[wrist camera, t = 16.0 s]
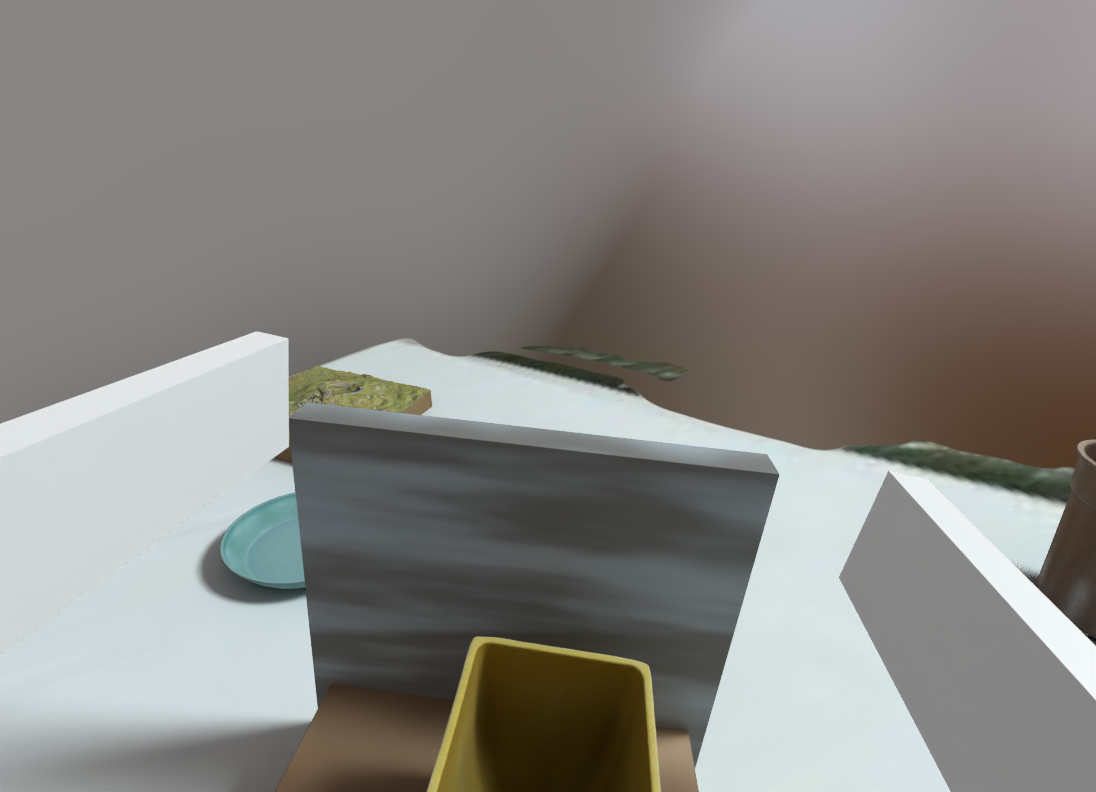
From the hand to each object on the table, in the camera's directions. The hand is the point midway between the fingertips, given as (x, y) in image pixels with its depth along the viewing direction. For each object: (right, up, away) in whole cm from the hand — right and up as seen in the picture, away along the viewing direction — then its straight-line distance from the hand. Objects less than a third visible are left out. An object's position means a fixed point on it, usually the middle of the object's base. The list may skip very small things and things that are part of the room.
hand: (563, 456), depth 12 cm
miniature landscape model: (-33, -3, +68) cm, 75 cm away
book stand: (-4, -25, +19) cm, 32 cm away
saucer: (-24, -14, +42) cm, 50 cm away
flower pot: (-1, -21, +14) cm, 25 cm away
